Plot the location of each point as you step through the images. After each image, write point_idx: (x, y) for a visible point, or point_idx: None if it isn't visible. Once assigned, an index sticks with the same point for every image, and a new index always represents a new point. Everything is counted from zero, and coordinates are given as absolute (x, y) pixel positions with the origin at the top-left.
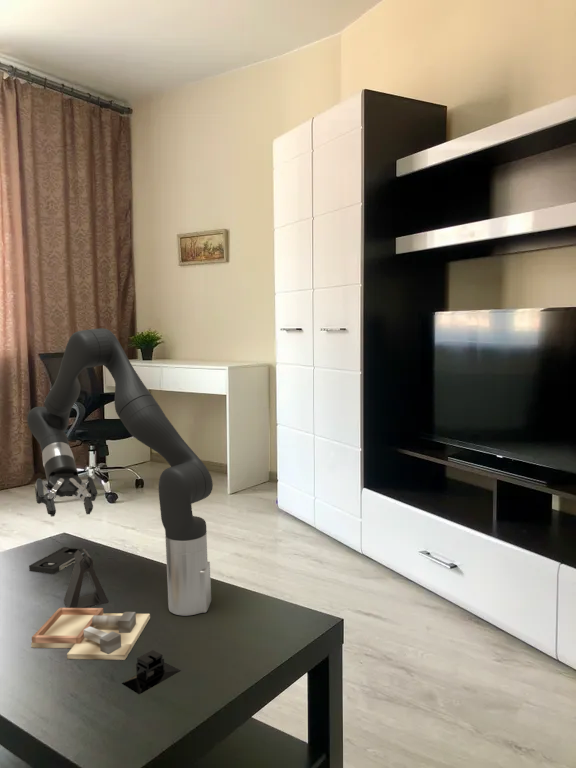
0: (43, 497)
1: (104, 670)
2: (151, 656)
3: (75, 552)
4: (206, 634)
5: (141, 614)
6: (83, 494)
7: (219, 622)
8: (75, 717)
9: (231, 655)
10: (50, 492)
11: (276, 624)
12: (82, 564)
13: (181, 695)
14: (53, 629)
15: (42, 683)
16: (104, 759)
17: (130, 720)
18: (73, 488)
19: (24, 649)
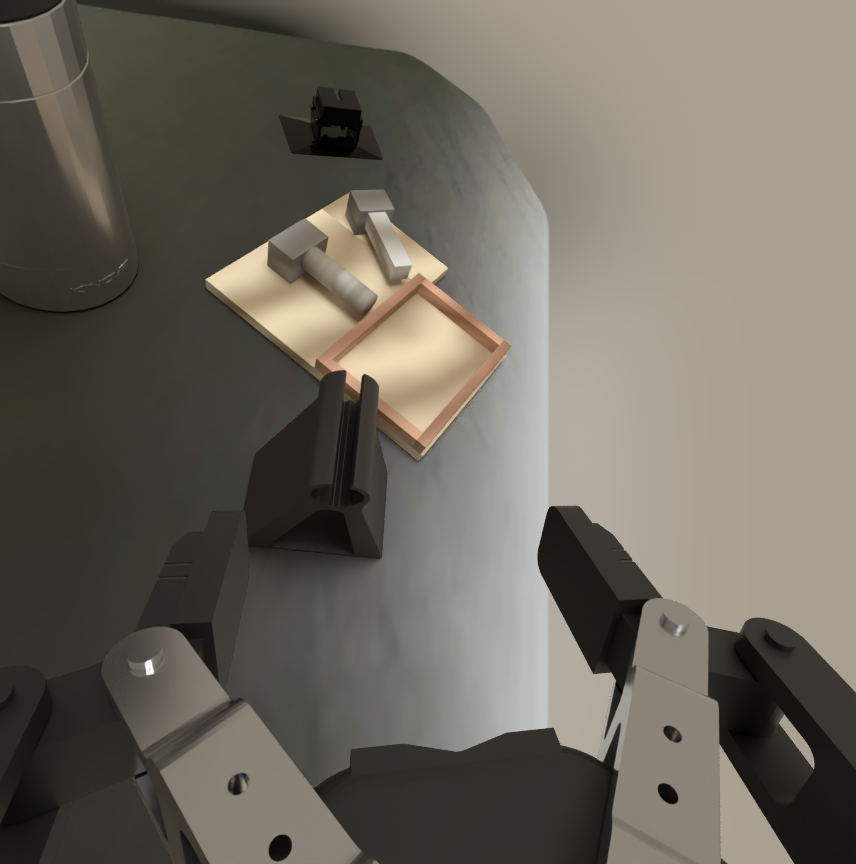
0: (732, 649)
1: (394, 202)
2: (336, 98)
3: (367, 492)
4: (145, 147)
5: (227, 291)
6: (217, 686)
7: None
8: (465, 153)
9: (166, 76)
10: (699, 686)
11: None
12: (346, 450)
13: (316, 82)
14: (453, 377)
15: (495, 244)
16: (452, 85)
17: (403, 101)
18: (359, 798)
19: (514, 366)
